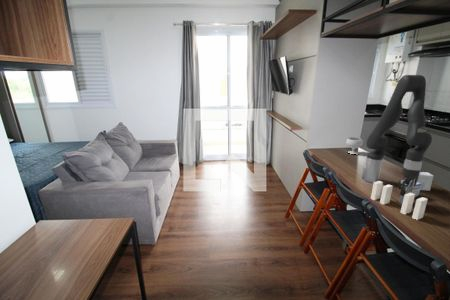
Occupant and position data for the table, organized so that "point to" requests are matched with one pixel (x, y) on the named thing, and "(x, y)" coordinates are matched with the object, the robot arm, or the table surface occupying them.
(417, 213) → the domino
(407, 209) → the domino
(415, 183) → the robot arm
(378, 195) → the domino
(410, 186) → the domino
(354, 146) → the chalice
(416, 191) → the medicine box
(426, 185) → the skincare box
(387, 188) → the domino
